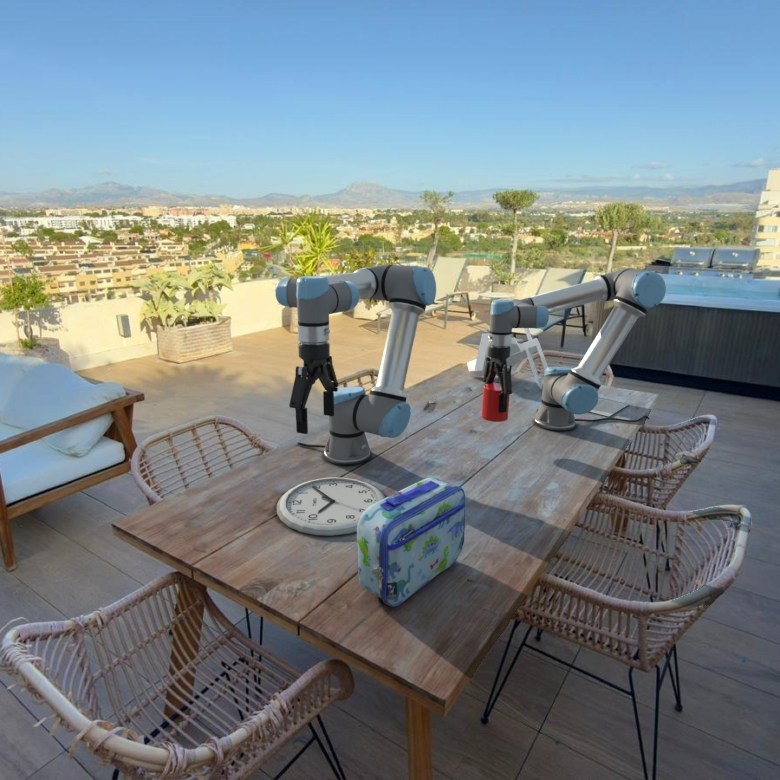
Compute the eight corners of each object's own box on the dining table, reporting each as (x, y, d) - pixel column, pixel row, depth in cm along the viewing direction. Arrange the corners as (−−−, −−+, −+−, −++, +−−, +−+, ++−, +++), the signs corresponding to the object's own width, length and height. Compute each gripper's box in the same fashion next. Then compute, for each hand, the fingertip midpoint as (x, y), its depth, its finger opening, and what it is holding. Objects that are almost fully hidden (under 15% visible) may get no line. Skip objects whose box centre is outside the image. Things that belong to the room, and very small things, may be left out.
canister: (482, 412, 192) (483, 382, 189) (507, 413, 191) (509, 383, 187) (481, 420, 184) (483, 389, 180) (508, 422, 182) (510, 391, 178)
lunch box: (386, 620, 101) (388, 525, 95) (350, 593, 108) (349, 503, 102) (468, 563, 119) (474, 480, 112) (432, 543, 126) (436, 464, 120)
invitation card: (608, 416, 214) (573, 407, 224) (608, 416, 214) (573, 408, 224) (628, 404, 229) (594, 396, 238) (628, 405, 229) (594, 397, 238)
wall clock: (392, 527, 129) (268, 531, 127) (391, 533, 130) (269, 537, 127) (383, 473, 158) (282, 475, 155) (383, 478, 158) (282, 480, 156)
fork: (420, 410, 217) (420, 406, 216) (430, 399, 231) (431, 395, 231) (426, 411, 216) (426, 406, 216) (436, 400, 231) (436, 395, 230)
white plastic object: (487, 418, 267) (468, 395, 242) (469, 346, 289) (449, 318, 264) (558, 394, 255) (545, 368, 230) (533, 321, 277) (518, 289, 252)
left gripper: (300, 354, 114) (303, 443, 121) (350, 334, 136) (350, 410, 143) (271, 350, 117) (275, 438, 123) (325, 331, 139) (326, 406, 145)
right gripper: (475, 339, 188) (472, 399, 195) (505, 353, 168) (501, 418, 175) (493, 338, 190) (490, 397, 197) (526, 351, 170) (521, 416, 177)
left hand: (316, 423), depth 133 cm, fingers open, 13 cm apart
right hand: (495, 407), depth 186 cm, fingers closed on canister, 9 cm apart
